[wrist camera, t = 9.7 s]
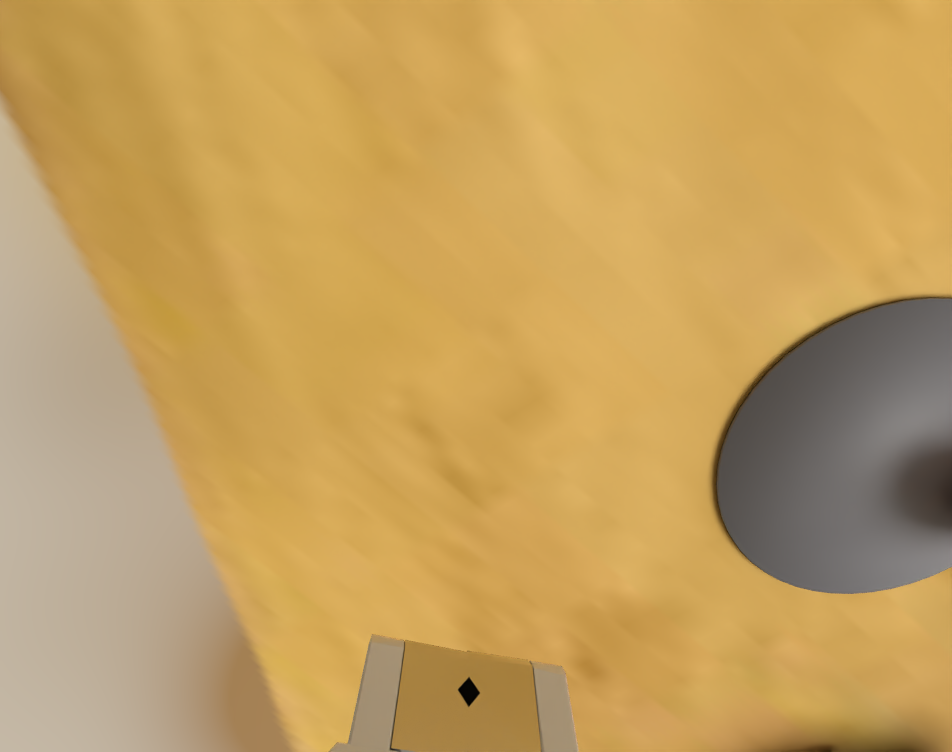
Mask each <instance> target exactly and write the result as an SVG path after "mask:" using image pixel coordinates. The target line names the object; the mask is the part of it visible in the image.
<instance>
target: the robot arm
mask: <svg viewBox="0 0 952 752" xmlns="http://www.w3.org/2000/svg"><path fill="white" fill-rule="evenodd" d="M329 752H579V750H578V744H577V738H576V732H575V726H574V720H573V714H572V708H571V703H570V697H569V691H568V685H567V679H566V673H565V671H564V669H563V668H562V666H558V665H552V664H546V663H540V662H534V661H528V660H525V659H519V658H512V657H505V656H499V655H492V654H486V653H479V652H472V651H467V652H465V651H460V650H454V649H449V648H444V647H439V646H434V645H429V644H424V643H418V642H413V641H408V640H405V642H404V640H402V639H396V638H391V637H385V636H379V635H374V634H372V636H371V639H370V642H369V646H368V651H367V655H366V660H365V665H364V670H363V674H362V679H361V684H360V689H359V693H358V698H357V703H356V707H355V712H354V717H353V722H352V726H351V731H350V736H349V740H348V743H339V742H337V743H336V744H335V745H334V746H333V747H332V749H331V750H330V751H329Z"/></svg>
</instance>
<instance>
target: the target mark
mask: <svg viewBox="0 0 952 752" xmlns="http://www.w3.org/2000/svg"><path fill="white" fill-rule="evenodd" d="M716 486H717V498H718V505H719V508H720V512H721V516H722V519H723V522H724V524H725V526H726V528H727V530H728V533H729V534H730V536H731V537H732V539H733V540H734V542H735V543H736V545H737V546H738V548H739V549H740V551H741V552H742V553H743V554H744V555H745V556H746V557H747V558H748V559H749V560H750V561H751V562H752V563H753V564H755V565H756V566H757V567H759V568H760V569H761V570H763V571H764V572H766V573H767V574H769V575H771V576H773V577H775V578H776V579H778V580H780V581H783V582H785V583H788V584H791V585H793V586H796V587H800V588H804V589H808V590H812V591H818V592H826V593H842V594H854V593H867V592H875V591H881V590H887V589H892V588H896V587H900V586H903V585H907V584H911V583H914V582H917V581H920V580H922V579H925V578H928V577H930V576H933V575H935V574H937V573H940V572H942V571H944V570H946V569H948V568H950V567H952V298H921V299H911V300H903V301H899V302H894V303H889V304H885V305H880V306H877V307H874V308H871V309H868V310H865V311H862V312H859V313H856V314H854V315H852V316H849V317H847V318H845V319H843V320H841V321H839V322H836V323H834V324H832V325H830V326H828V327H827V328H825V329H823V330H822V331H820V332H818V333H817V334H815V335H813V336H811V337H810V338H808V339H807V340H805V341H804V342H803V343H801V344H800V345H799V346H797V347H796V348H795V349H793V350H792V351H791V352H789V353H788V354H787V355H785V356H784V357H783V358H782V359H781V360H780V361H779V362H778V363H777V364H776V365H775V366H774V367H772V368H771V369H770V370H769V371H768V372H767V373H766V375H765V376H764V377H763V378H762V379H761V380H760V381H759V383H758V384H757V385H756V386H755V387H754V388H753V389H752V391H751V392H750V394H749V395H748V397H747V398H746V400H745V401H744V402H743V404H742V405H741V407H740V408H739V410H738V412H737V414H736V416H735V418H734V419H733V421H732V423H731V425H730V427H729V429H728V432H727V435H726V437H725V440H724V443H723V446H722V449H721V453H720V458H719V462H718V468H717V483H716Z"/></svg>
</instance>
